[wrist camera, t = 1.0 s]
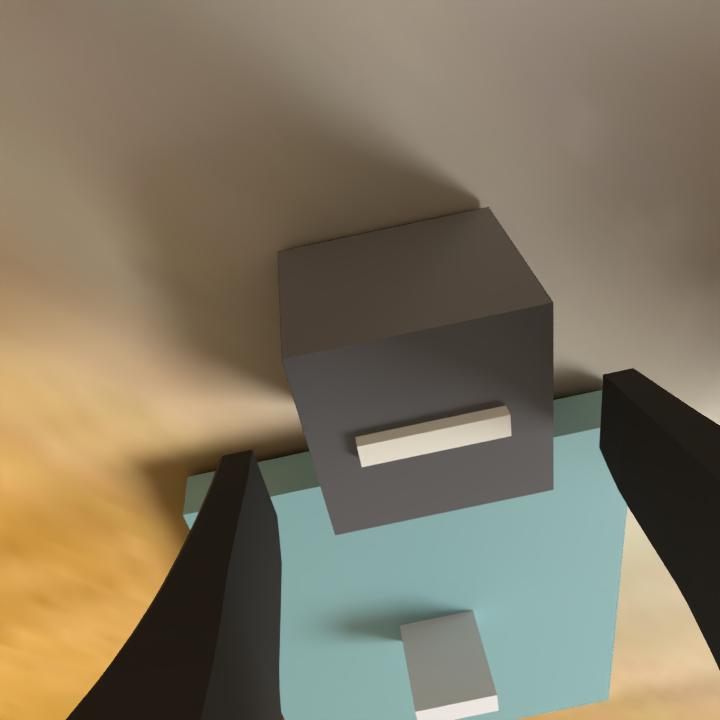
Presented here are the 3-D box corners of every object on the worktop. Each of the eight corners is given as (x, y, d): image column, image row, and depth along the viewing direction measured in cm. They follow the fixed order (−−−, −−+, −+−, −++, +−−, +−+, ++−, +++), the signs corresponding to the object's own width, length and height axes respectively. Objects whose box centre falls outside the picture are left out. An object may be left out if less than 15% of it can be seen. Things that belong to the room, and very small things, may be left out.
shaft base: (613, 387, 20) (689, 500, 17) (594, 666, 30) (640, 777, 26) (187, 477, 20) (171, 608, 17) (304, 726, 30) (310, 844, 26)
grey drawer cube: (488, 207, 16) (559, 310, 12) (499, 374, 19) (557, 499, 15) (277, 251, 16) (282, 369, 12) (321, 411, 19) (336, 545, 16)
